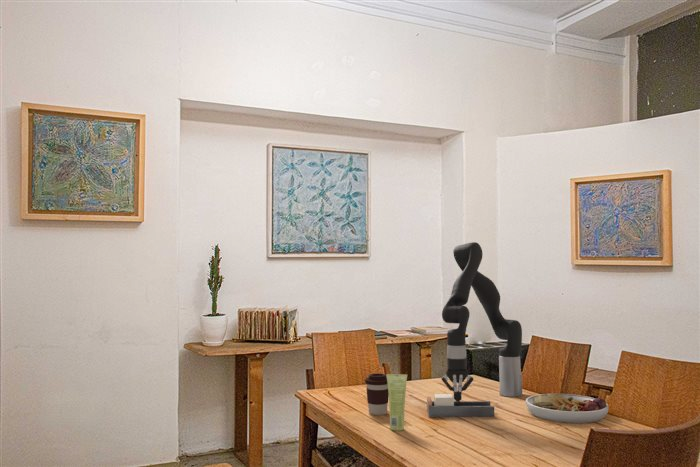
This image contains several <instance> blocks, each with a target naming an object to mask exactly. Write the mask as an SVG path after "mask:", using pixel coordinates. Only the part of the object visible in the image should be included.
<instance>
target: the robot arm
mask: <svg viewBox="0 0 700 467" xmlns="http://www.w3.org/2000/svg"><path fill="white" fill-rule="evenodd" d="M452 254H453V257H454V261H455V262H456V264H457V266H458V268H460V270H461V273H460V274H459V275H458V277H457V278H456V279H455V281H454V283H453V285H452V288H451V289H452V290H451V293H450V296H449V298H448V300H447V301H446V303H445V305H444V307H443V308H442V312H441V317H442V320H443V321H444V323H447V324H458V325H459V326H458V327H457V328H453V329H449V330H448V331H447V333H446V336H447V337H446V339H447V340H446V341H447V346H446V347H447V348H446V368H447V369H446V372H445V375H443V376H441V377H440V379H441V381H442V382H443V383H444V385H445V386H446V387H447V388H448V390H450V391H452V392H453V397H454V401H456V402H460V401H462V392H464V391H467V389H468V388H469V386H470V385H471V384H472V383H473V381H474V377H473V376H471V375H469V372H468V370H467V369H468V368H467V356H468V355H467V347H466V332H467V327H468V323H469V318H470V310H469V308H468V307H467V306H466V305H467V303H468V301H469V297H470V293H471V288H472V289H473V292H474V293H475V296H476V297H477V299H478V301H479V302H480V304H481V306H482V308H483V310H484V312H485V313H486V316H487V318H488V320H489V322H490V325H491V327H492V330H493V333H494V334H495V336H496V337H497V338H498V339H499V340H504V341H507V342H506V346H504V347H501V348H499V350H498V369H499V370H498V371H499V372H498V373H499V374H498V375H499V378H498V379H499V395H501V396H504V397H510V398H512V397H514V398H515V397H523V374H522V372H521V368H522V367H521V351H522V348H523V347H522V346H523V339H522V338H523V328H522V324H521V323H520V321H518V320H516V319H506V318H505V317H504V316H503V314H502V312H501V310H500V305H501V304H500V303H501V295H500V292H499V290H498V288H497V287H496V285H495V282H493V280H491V279H490V278H489V277H488V276H487V275H484V274H483V273H481V272H480V271H478V270H479V267H480V265H481V263H482V260H483V250H482V247H481V245H480V244H479V243H478V242H473V241H472V242H468V243H463V244H460V245H456V246H455V247H454V249H453V253H452ZM448 379H449V381H450V382H451V383H452V385H451V384H450V383H449V382H448ZM465 380H466V381H465ZM463 382H465V383H464V384H463Z"/></svg>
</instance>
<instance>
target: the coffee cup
mask: <svg viewBox="0 0 700 467" xmlns="http://www.w3.org/2000/svg"><path fill="white" fill-rule="evenodd" d="M364 383H365V384H366V399H367V405H368V413H369V414H370V415H374V416H383V415H386V414H387V413H388V405H389V393H388V383H387V377H386V374H385V373H379V372H378V373H370V374H368V376H367V377H366V378H364Z"/></svg>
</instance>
